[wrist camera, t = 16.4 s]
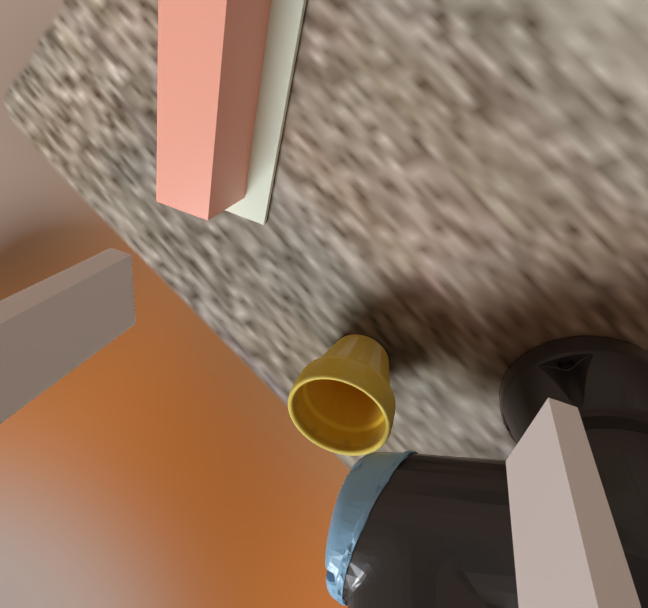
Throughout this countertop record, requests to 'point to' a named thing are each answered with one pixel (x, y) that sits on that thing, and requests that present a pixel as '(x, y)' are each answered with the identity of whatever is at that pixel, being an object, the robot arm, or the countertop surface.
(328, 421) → the plant pot
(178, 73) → the long pink block
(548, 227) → the countertop surface
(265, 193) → the pale green flat board
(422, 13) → the countertop surface
